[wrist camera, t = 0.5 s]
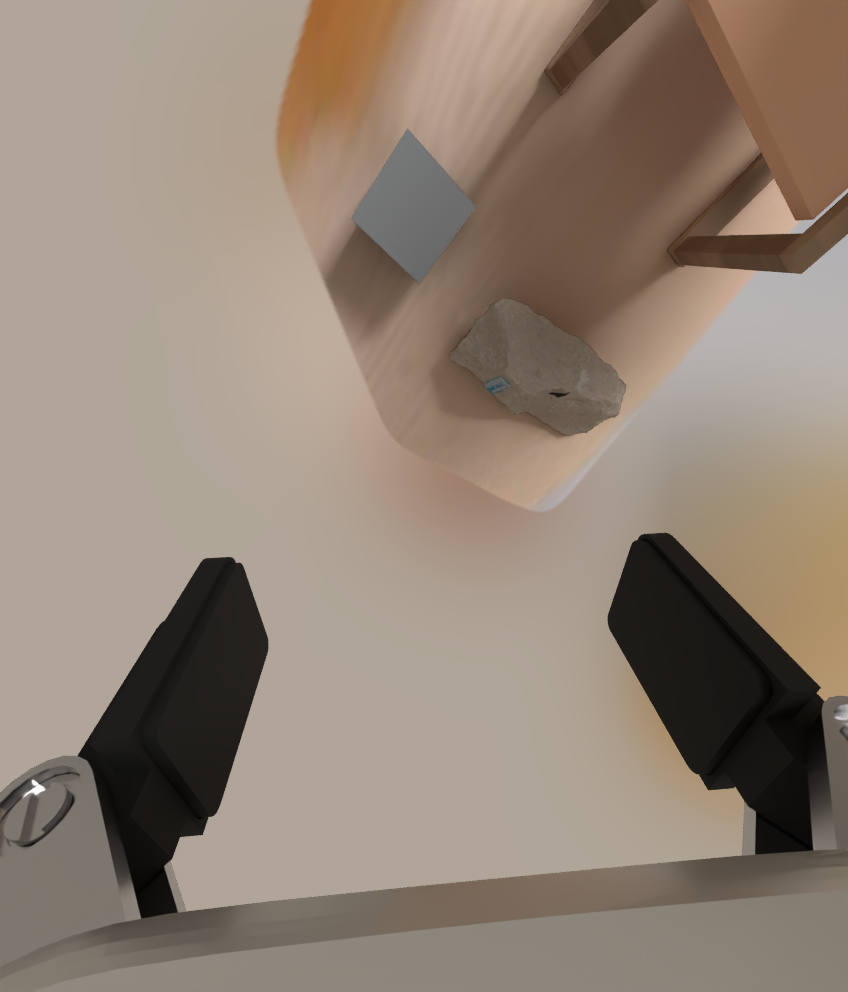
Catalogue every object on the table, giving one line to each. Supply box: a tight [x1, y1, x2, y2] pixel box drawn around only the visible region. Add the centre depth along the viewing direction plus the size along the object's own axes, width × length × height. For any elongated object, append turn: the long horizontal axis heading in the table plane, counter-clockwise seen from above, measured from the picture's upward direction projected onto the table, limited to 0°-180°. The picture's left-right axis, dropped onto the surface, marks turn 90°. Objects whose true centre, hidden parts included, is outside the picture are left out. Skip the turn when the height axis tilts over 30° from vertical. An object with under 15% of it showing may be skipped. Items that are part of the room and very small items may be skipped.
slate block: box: [351, 129, 476, 283], centre depth 24 cm, size 5×5×5 cm
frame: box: [544, 0, 848, 274], centre depth 19 cm, size 10×15×10 cm
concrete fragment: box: [449, 298, 626, 436], centre depth 30 cm, size 7×14×6 cm, turn 56°
